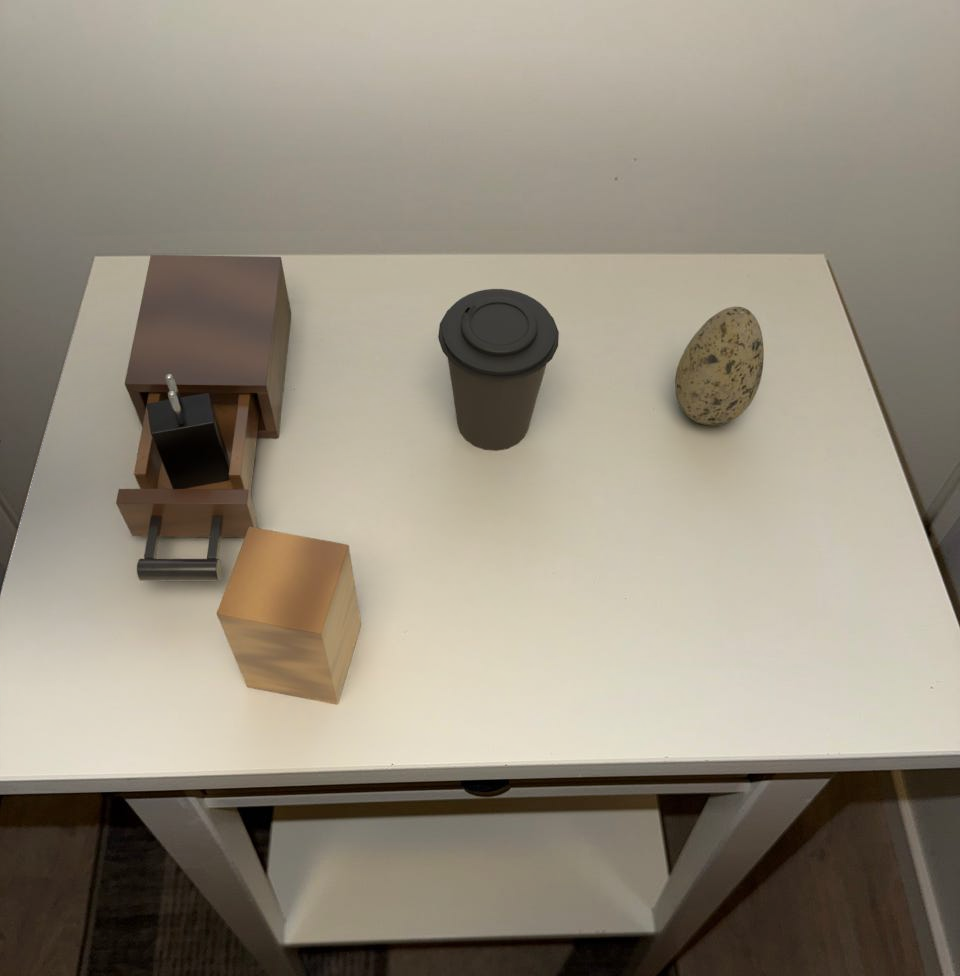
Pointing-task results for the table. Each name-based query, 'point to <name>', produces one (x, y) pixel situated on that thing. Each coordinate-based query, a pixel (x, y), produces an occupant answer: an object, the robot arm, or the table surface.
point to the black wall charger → (188, 439)
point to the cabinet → (213, 331)
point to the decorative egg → (721, 368)
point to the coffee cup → (496, 363)
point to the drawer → (194, 494)
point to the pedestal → (292, 614)
